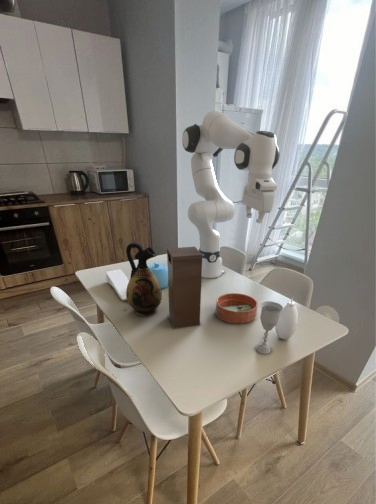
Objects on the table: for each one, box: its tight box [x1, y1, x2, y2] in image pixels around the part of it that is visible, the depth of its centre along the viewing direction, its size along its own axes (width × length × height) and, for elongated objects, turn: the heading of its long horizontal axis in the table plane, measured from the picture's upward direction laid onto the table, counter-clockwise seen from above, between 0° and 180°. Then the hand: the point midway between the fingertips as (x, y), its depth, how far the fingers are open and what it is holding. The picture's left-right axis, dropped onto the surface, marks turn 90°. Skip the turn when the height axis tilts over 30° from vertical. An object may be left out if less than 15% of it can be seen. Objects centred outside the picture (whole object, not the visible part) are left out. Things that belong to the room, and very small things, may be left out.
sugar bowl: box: [148, 262, 168, 290], centre depth 150 cm, size 15×15×12 cm
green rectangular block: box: [223, 305, 252, 311], centre depth 126 cm, size 4×13×3 cm, turn 104°
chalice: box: [256, 300, 284, 355], centre depth 101 cm, size 7×7×18 cm
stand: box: [166, 246, 203, 329], centre depth 114 cm, size 10×11×30 cm
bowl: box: [215, 292, 259, 324], centre depth 126 cm, size 18×18×6 cm
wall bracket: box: [105, 268, 130, 301], centre depth 147 cm, size 10×7×28 cm
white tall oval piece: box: [274, 296, 299, 340], centre depth 107 cm, size 8×8×18 cm
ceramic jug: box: [125, 241, 163, 317], centre depth 121 cm, size 17×15×30 cm
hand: (253, 220), depth 118 cm, fingers open, 8 cm apart
